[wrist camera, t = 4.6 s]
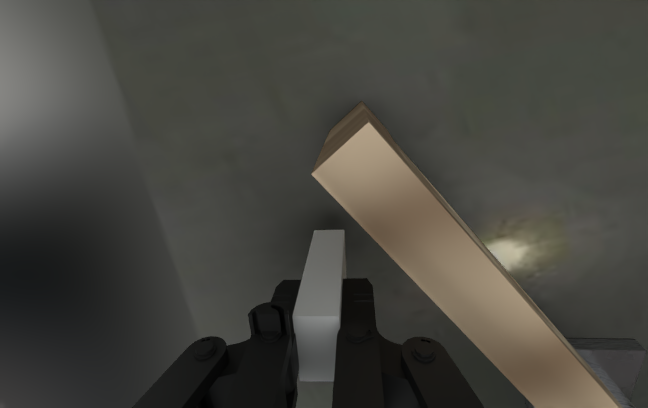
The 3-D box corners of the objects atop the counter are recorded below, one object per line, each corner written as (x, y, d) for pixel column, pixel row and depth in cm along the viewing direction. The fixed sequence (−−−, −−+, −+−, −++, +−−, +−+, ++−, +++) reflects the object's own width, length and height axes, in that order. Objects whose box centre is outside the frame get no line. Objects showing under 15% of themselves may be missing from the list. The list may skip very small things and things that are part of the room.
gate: (590, 365, 22) (726, 530, 14) (558, 381, 22) (670, 548, 15) (361, 100, 17) (368, 122, 9) (329, 130, 18) (311, 174, 10)
